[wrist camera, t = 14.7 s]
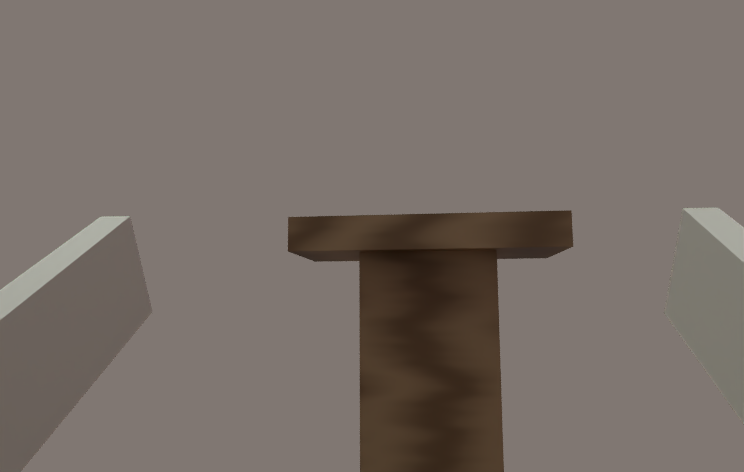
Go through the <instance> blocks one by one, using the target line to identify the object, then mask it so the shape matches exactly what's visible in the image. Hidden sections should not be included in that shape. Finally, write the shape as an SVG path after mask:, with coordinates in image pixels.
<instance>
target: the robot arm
mask: <svg viewBox="0 0 744 472" xmlns="http://www.w3.org/2000/svg"><path fill="white" fill-rule="evenodd" d="M151 313H152V308H151V304H150V300H149V295H148V291H147V287H146V282H145V278H144V274H143V269H142V265H141V261H140V257H139V252H138V248H137V244H136V240H135V235H134V231H133V226H132V222H131V218H130V216H109V217H100V218H98V219H97V220H96V221H94V222H93V223H91V224H90V225H89V226H87V227H86V228H85V229H83V230H82V231H81V232H79V233H78V234H76V235H75V236H74V237H72V238H71V239H70V240H68V241H67V242H65V243H64V244H63V245H61V246H60V247H59V248H57V249H56V250H54V251H53V252H52V253H51V254H49V255H48V256H46V257H45V258H43V259H42V260H41V261H39V262H38V263H37V264H36V265H34V266H32V267H31V268H30V269H28V270H27V271H26V272H25V273H23V274H21V275H20V276H19V277H17V278H16V279H15V280H13V281H12V282H11V283H9V284H8V285H6V286H5V287H4V288H2V289H1V290H0V472H21V471H22V469H23V468H24V467H25V466H26V465H27V463H28V462H29V461H30V460H31V459H32V457H33V456H34V455H35V453H36V452H37V451H38V450H39V449H40V448H41V446H42V445H43V444H44V443H45V442H46V440H47V439H48V438H49V437H50V435H51V434H52V433H53V432H54V431H55V429H56V428H57V427H58V425H59V424H60V423H61V422H62V421H63V420H64V418H65V417H66V416H67V415H68V414H69V412H70V411H71V410H72V409H73V408H74V406H75V405H76V404H77V403H78V401H79V400H80V399H81V398H82V397H83V395H84V394H85V393H86V392H87V391H88V389H89V388H90V387H91V386H92V384H93V383H94V382H95V381H96V380H97V378H98V377H99V376H100V375H101V374H102V372H103V371H104V370H105V369H106V368H107V366H108V365H109V364H110V363H111V361H112V360H113V359H114V358H115V357H116V355H117V354H118V353H119V352H120V350H121V349H122V348H123V347H124V346H125V344H126V343H127V342H128V341H129V340H130V338H131V337H132V336H133V335H134V334H135V332H136V331H137V330H138V329H139V327H140V326H141V325H142V324H143V323H144V321H145V320H146V319H147V318H148V316H149V315H150V314H151ZM664 314H665V315H666V316H667V318H668V319H669V320H670V322H671V323H672V325H673V326H674V328H675V329H676V330H677V332H678V333H679V335H680V336H681V337H682V339H683V340H684V342H685V343H686V344H687V346H688V347H689V349H690V350H691V351H692V353H693V354H694V356H695V357H696V358H697V360H698V361H699V363H700V364H701V365H702V367H703V368H704V370H705V371H706V372H707V374H708V375H709V377H710V378H711V379H712V381H713V382H714V384H715V385H716V386H717V388H718V389H719V391H720V392H721V393H722V395H723V396H724V398H725V399H726V400H727V402H728V403H729V405H730V406H731V407H732V409H733V410H734V412H735V413H736V414H737V416H738V417H739V419H740V420H741V421H742V423H743V424H744V227H742V226H741V225H740V224H738V223H737V222H736V221H734V220H733V219H732V218H731V217H729V216H728V215H727V214H726V213H724V212H723V211H722V210H720V209H719V208H683V210H682V216H681V221H680V227H679V232H678V238H677V244H676V249H675V255H674V260H673V266H672V272H671V277H670V283H669V289H668V294H667V300H666V306H665V311H664Z"/></svg>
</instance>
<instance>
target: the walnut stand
mask: <svg viewBox="0 0 744 472" xmlns="http://www.w3.org/2000/svg"><path fill="white" fill-rule="evenodd" d="M571 247H573V234H572V213H571V211H534V212H533V211H530V212H489V213H446V214H405V215H404V214H402V215H359V216H318V217H289V218H288V251H289V252H291V253H294V254H297V255H299V256H302V257H305V258H307V259H310V260H313V261H360V472H504V464H503V434H502V402H501V371H500V340H499V310H498V282H497V281H498V278H497V259H517V258H548V257H550V256H553V255H555V254H557V253H560V252H562V251H564V250H566V249H569V248H571Z"/></svg>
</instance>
